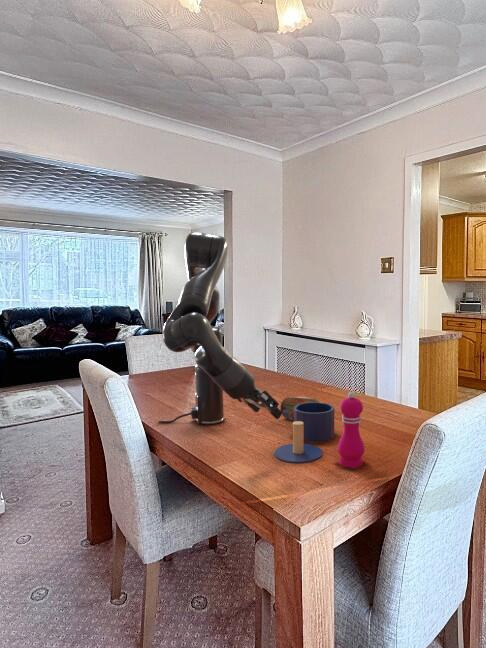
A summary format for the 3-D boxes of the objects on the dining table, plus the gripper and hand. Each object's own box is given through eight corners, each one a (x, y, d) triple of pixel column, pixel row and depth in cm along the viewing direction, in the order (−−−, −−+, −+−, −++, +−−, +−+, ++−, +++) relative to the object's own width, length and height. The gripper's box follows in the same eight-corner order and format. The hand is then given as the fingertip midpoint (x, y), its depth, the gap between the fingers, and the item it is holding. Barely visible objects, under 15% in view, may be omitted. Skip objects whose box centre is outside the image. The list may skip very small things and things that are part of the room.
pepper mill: (335, 459, 126) (335, 388, 123) (361, 458, 126) (362, 388, 124) (339, 470, 119) (340, 395, 116) (367, 469, 119) (368, 395, 116)
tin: (280, 419, 162) (279, 396, 161) (283, 416, 165) (283, 394, 164) (319, 424, 157) (320, 400, 155) (323, 421, 160) (323, 398, 158)
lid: (282, 468, 120) (282, 433, 119) (268, 450, 133) (267, 418, 132) (330, 461, 125) (330, 427, 124) (311, 444, 138) (311, 413, 136)
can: (302, 445, 136) (302, 415, 135) (288, 432, 148) (288, 404, 147) (340, 440, 141) (340, 410, 139) (324, 428, 152) (324, 400, 151)
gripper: (258, 367, 106) (294, 406, 116) (223, 360, 117) (259, 396, 126) (240, 394, 103) (279, 431, 113) (206, 384, 114) (244, 418, 123)
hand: (268, 412), depth 120 cm, fingers open, 8 cm apart
